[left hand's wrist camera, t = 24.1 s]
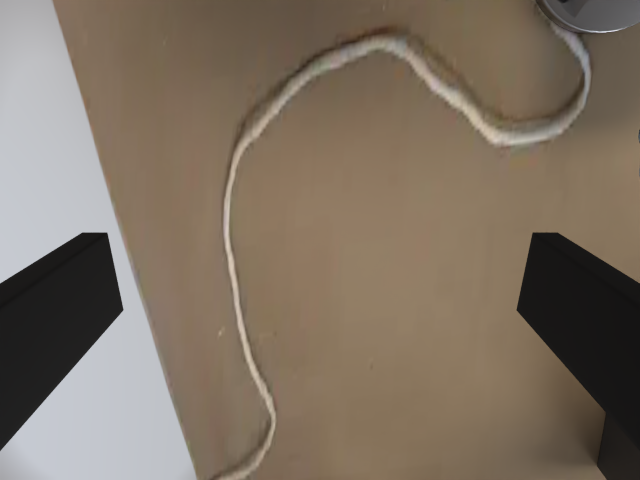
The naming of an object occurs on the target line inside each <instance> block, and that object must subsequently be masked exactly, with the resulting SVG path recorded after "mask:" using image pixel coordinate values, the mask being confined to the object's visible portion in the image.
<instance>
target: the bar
mask: <svg viewBox="0 0 640 480" xmlns="http://www.w3.org/2000/svg"><path fill="white" fill-rule="evenodd" d="M597 467H598V468H599V469H600V471H601V472H602V474H603V475H604V476H605V478H606V479H607V480H640V451H639V449H638V448H637V447H636V446H635V445H634V444H633V443H632V441H631V440H630V439H629V438H628V437H627V436H626V435H625V433H624V432H623V431H622V430H621V429H620V428H619V427H618V425H617V424H616V423H615V422H614V421H613V420H612V419H611V417H610V416H609V415H608V414H607V413H606V418H605V424H604V430H603V436H602V441H601V447H600V453H599V459H598V464H597Z"/></svg>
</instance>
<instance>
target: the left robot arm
mask: <svg viewBox="0 0 640 480" xmlns="http://www.w3.org/2000/svg"><path fill="white" fill-rule="evenodd" d="M536 1H537V3H538V5H539V6H540V8H541V9H542V11H543V12H544V13H545V14H546V15H547V16H548V17H549V18H550V19H551V20H552V21H553V22H555V23H556V24H557V25H559V26H561V27H562V28H565V29H567V30H569V31H573V32H576V33H582V34H601V33H607V32H612V31H617V30H621V29H625V28H627V27H630V26H633V25H635V24H637V23H639V22H640V0H536ZM639 142H640V130H639ZM639 175H640V170H639ZM122 311H123V306H122V301H121V296H120V291H119V287H118V282H117V277H116V272H115V268H114V263H113V258H112V253H111V248H110V243H109V239H108V234H107V233H81V234H80V235H78V236H76V237H75V238H73V239H71V240H70V241H68V242H67V243H65V244H63V245H62V246H60V247H58V248H57V249H55V250H54V251H52V252H50V253H49V254H47V255H46V256H44V257H42V258H41V259H39V260H38V261H36V262H34V263H33V264H31V265H29V266H28V267H26V268H25V269H23V270H21V271H20V272H18V273H16V274H15V275H13V276H12V277H10V278H8V279H7V280H5V281H4V282H2V283H0V451H1V449H2V448H3V447H4V446H5V445H6V444H7V443H8V441H9V440H10V439H11V438H12V437H13V436H14V435H15V433H16V432H17V431H18V430H19V429H20V428H21V427H22V425H23V424H24V423H25V422H26V421H27V420H28V419H29V417H30V416H31V415H32V414H33V413H34V412H35V411H36V409H37V408H38V407H39V406H40V405H41V404H42V403H43V401H44V400H45V399H46V398H47V397H48V396H49V395H50V393H51V392H52V391H53V390H54V389H55V388H56V387H57V385H58V384H59V383H60V382H61V381H62V380H63V379H64V377H65V376H66V375H67V374H68V373H69V372H70V371H71V369H72V368H73V367H74V366H75V365H76V364H77V363H78V361H79V360H80V359H81V358H82V357H83V356H84V355H85V353H86V352H87V351H88V350H89V349H90V348H91V347H92V345H93V344H94V343H95V342H96V341H97V340H98V339H99V337H100V336H101V335H102V334H103V333H104V332H105V331H106V329H107V328H108V327H109V326H110V325H111V324H112V323H113V321H114V320H115V319H116V318H117V317H118V316H119V315H120V313H121V312H122ZM517 311H518V312H519V313H520V315H521V316H522V317H523V318H524V319H525V320H526V321H527V323H528V324H529V325H530V326H531V327H532V328H533V329H534V331H535V332H536V333H537V334H538V335H539V336H540V337H541V339H542V340H543V341H544V342H545V343H546V344H547V345H548V347H549V348H550V349H551V350H552V351H553V352H554V353H555V355H556V356H557V357H558V358H559V359H560V360H561V361H562V363H563V364H564V365H565V366H566V367H567V368H568V369H569V371H570V372H571V373H572V374H573V375H574V376H575V377H576V379H577V380H578V381H579V382H580V383H581V384H582V385H583V387H584V388H585V389H586V390H587V391H588V392H589V393H590V395H591V396H592V397H593V398H594V399H595V400H596V401H597V403H598V404H599V405H600V406H601V407H602V408H603V409H604V411H605V412H606V413H607V414H608V415H609V416H610V417H611V419H612V420H613V421H614V422H615V423H616V424H617V425H618V427H619V428H620V429H621V430H622V431H623V432H624V433H625V435H626V436H627V437H628V438H629V439H630V440H631V441H632V443H633V444H634V445H635V446H636V447H637V448H638V449H639V451H640V283H638V282H636V281H635V280H633V279H632V278H630V277H628V276H627V275H625V274H624V273H622V272H620V271H619V270H617V269H615V268H614V267H612V266H611V265H609V264H607V263H606V262H604V261H603V260H601V259H599V258H598V257H596V256H594V255H593V254H591V253H590V252H588V251H586V250H585V249H583V248H582V247H580V246H578V245H577V244H575V243H573V242H572V241H570V240H569V239H567V238H565V237H564V236H562V235H561V234H559V233H533V234H532V239H531V243H530V248H529V253H528V258H527V262H526V267H525V272H524V277H523V282H522V286H521V291H520V296H519V301H518V306H517Z"/></svg>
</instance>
